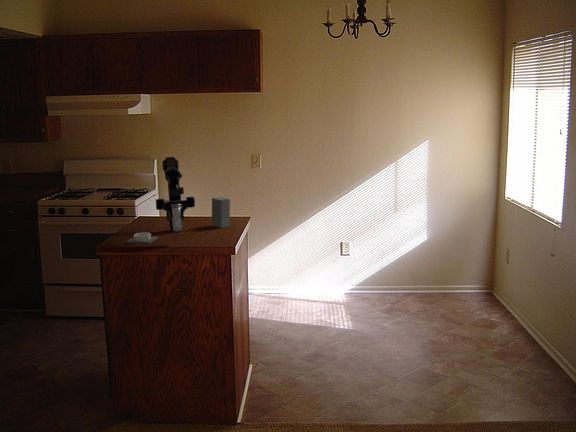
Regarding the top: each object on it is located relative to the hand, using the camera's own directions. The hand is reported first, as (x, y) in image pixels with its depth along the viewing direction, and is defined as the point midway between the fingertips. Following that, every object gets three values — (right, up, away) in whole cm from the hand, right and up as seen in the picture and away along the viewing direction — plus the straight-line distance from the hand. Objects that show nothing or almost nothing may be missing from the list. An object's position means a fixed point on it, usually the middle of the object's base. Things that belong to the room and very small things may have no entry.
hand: (176, 217), depth 306 cm
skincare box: (+17, -5, +40) cm, 44 cm away
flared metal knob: (0, -6, +3) cm, 7 cm away
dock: (-20, -12, +14) cm, 27 cm away
